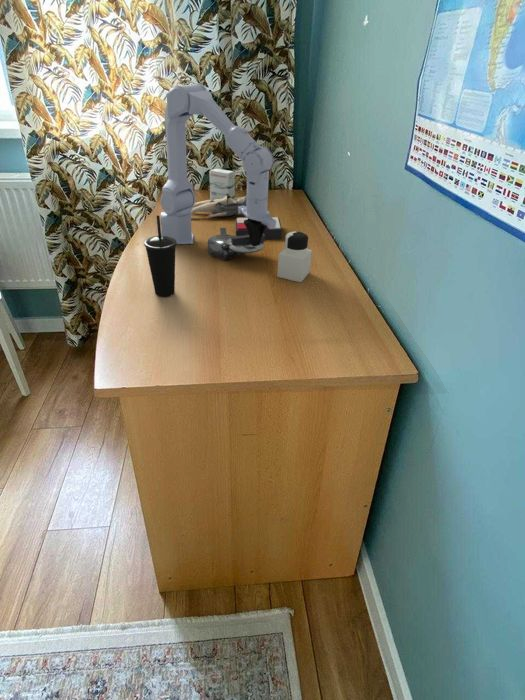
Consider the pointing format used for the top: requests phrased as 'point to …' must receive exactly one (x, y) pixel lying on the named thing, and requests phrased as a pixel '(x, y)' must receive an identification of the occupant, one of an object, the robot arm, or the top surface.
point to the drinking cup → (162, 262)
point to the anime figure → (220, 206)
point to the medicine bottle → (295, 257)
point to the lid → (243, 244)
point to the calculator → (269, 233)
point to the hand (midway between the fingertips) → (255, 245)
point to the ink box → (221, 183)
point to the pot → (216, 243)
